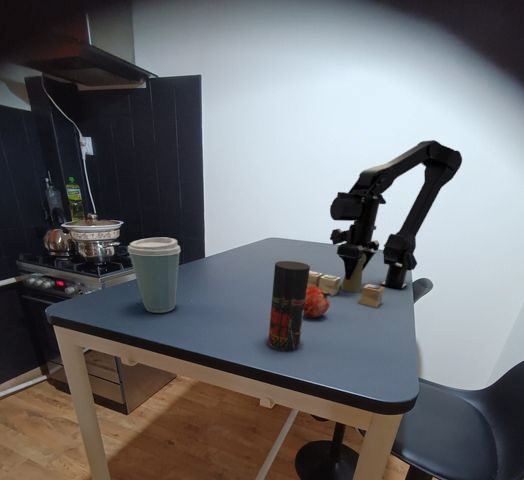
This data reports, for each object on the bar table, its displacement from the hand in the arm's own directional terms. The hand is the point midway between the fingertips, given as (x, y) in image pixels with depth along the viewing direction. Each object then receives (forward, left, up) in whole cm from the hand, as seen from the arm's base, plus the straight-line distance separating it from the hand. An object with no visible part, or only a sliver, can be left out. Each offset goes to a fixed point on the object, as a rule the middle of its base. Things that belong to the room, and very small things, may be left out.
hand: (353, 276), depth 95 cm
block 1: (+9, -9, -4) cm, 13 cm away
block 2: (+9, -4, -4) cm, 10 cm away
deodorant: (+46, +4, -4) cm, 46 cm away
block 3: (+9, +9, -4) cm, 13 cm away
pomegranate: (+29, +1, -4) cm, 29 cm away
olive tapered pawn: (0, 0, -4) cm, 4 cm away
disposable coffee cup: (+50, -27, -4) cm, 57 cm away
